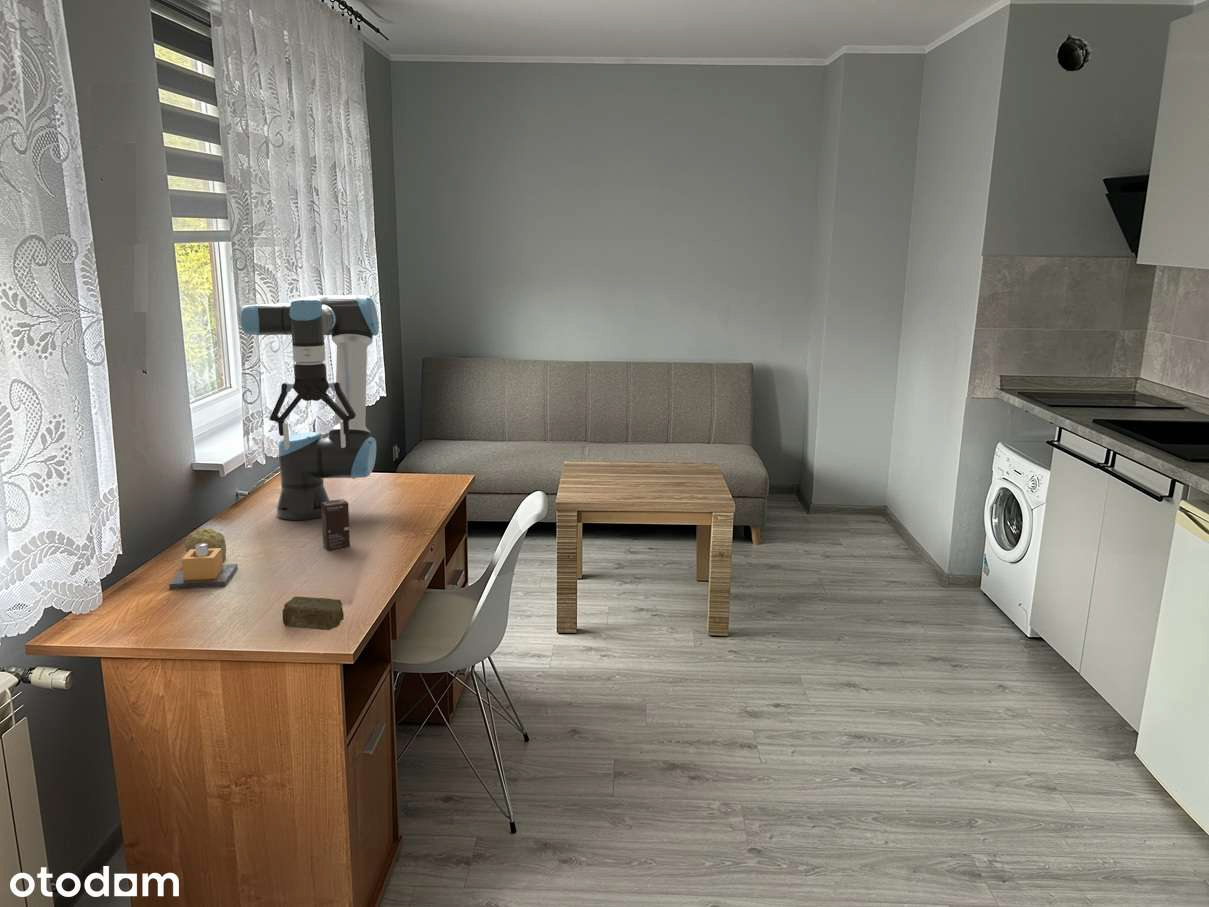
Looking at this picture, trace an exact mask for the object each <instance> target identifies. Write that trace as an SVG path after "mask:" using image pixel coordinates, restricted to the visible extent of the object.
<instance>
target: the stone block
mask: <svg viewBox="0 0 1209 907" xmlns="http://www.w3.org/2000/svg"><path fill="white" fill-rule="evenodd" d="M283 606H284V608H283V609H282V610H281V611H282V622H283V625H284V626H285V627H289V628H290V627H292V628H302V629H309V630H310V629H311V630H322V631H331V630H332V629H335V628H337V627H338V626H339V625H341V624H340V623H341V622H342V621H343V620H344V618H345V617H344V615H345V614H344V610H343V604H342V601H341V599H333V598H328V597H309V596H293V597H292V598H291V599H289V600H288V601H287V602H286V603H284V605H283Z"/></svg>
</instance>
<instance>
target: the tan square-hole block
mask: <svg viewBox="0 0 1209 907" xmlns="http://www.w3.org/2000/svg"><path fill="white" fill-rule="evenodd" d="M208 555H209V556H201V557H196V549H190V550H189V551H188V552H187V554H186V553H185V554H184V555H183V557H182V558H181V566H182V569H181V570H183V579H184V580H193V579H214V578H216V577H217V576H218V575H219V573H220V572H221V571H222V569H223V565H224V560H223V559H222V548H212V549H208Z"/></svg>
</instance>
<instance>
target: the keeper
mask: <svg viewBox="0 0 1209 907" xmlns="http://www.w3.org/2000/svg"><path fill="white" fill-rule="evenodd" d="M195 548H196V557H201V556H209V555H208V544H206V543H201V544H197V545H195ZM238 569H239V568H238V563H230V564H229V563H228V564H223V569H222V571H221V572H220V573H219V575H218V576H217V577H216V578H214V579H193V580H184V579H183V570H182V569H181V570H180V571H179V572H178V574H176V576H175V577H174V578H173V579H172V580H171V581H170V582H169V583H168V587H169V590H177V589H178V590H179V589H181V590H182V589H196V588H200V589H201V588H219V587H226V586H227V584H228V583H229V582H230V581H231V579H232V577H233V576H234V575H235V573H236V571H237V570H238Z"/></svg>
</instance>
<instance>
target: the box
mask: <svg viewBox="0 0 1209 907" xmlns="http://www.w3.org/2000/svg"><path fill="white" fill-rule="evenodd" d="M321 510H322V517H321V523H322V524H321V526H322V546H323V548H324V549H326V550H327V551H330V550H336V549H343V548H349V547H351V543H350V542H351V540H350V538H351V537H350V536H351V535H350V514H349V513H350V512H349V510H350V509H349V502H348V501H346V499H344V498H341V499H334V500H330V501H326V502H321Z"/></svg>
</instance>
